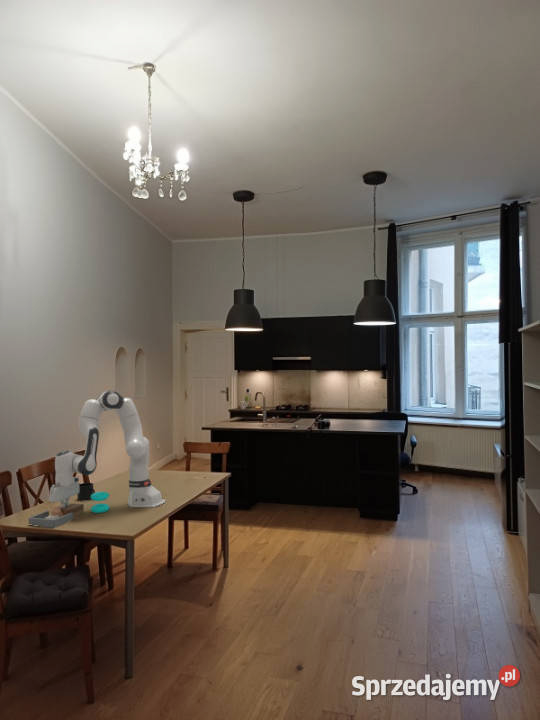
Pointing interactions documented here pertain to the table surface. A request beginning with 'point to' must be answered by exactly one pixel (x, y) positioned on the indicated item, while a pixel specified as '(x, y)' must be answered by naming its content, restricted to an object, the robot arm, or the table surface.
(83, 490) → the mug
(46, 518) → the tile front
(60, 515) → the tile rear
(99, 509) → the donuts
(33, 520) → the tray
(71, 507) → the bench
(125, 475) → the table surface
